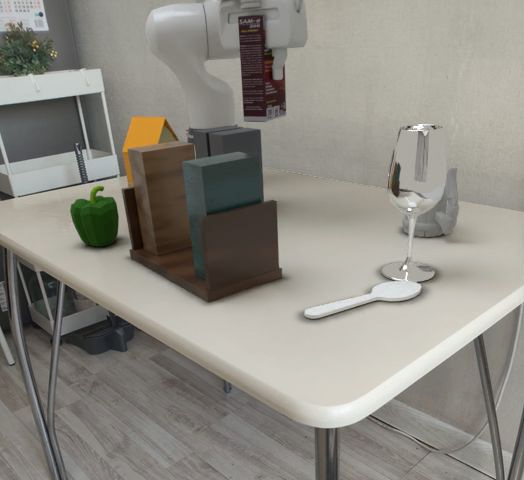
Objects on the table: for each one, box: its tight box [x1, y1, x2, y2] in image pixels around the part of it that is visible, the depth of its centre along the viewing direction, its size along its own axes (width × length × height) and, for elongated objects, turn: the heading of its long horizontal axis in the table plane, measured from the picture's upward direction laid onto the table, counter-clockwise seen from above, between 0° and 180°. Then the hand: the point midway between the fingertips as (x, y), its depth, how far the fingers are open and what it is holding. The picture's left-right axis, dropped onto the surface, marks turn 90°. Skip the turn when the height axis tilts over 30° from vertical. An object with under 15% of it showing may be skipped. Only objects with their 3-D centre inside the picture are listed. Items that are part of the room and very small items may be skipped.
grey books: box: [193, 125, 265, 202], centre depth 110 cm, size 11×9×16 cm
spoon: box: [303, 280, 422, 320], centre depth 70 cm, size 5×18×1 cm, turn 116°
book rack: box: [121, 140, 283, 303], centre depth 80 cm, size 25×13×18 cm, turn 37°
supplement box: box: [238, 15, 287, 123], centre depth 92 cm, size 9×5×16 cm, turn 153°
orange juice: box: [122, 115, 180, 187], centre depth 102 cm, size 8×9×20 cm
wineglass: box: [381, 123, 448, 283], centre depth 73 cm, size 8×8×20 cm
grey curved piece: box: [401, 166, 460, 238], centre depth 90 cm, size 8×12×12 cm, turn 20°
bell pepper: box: [69, 185, 120, 247], centre depth 96 cm, size 8×8×10 cm
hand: (263, 79), depth 93 cm, fingers closed on supplement box, 6 cm apart
